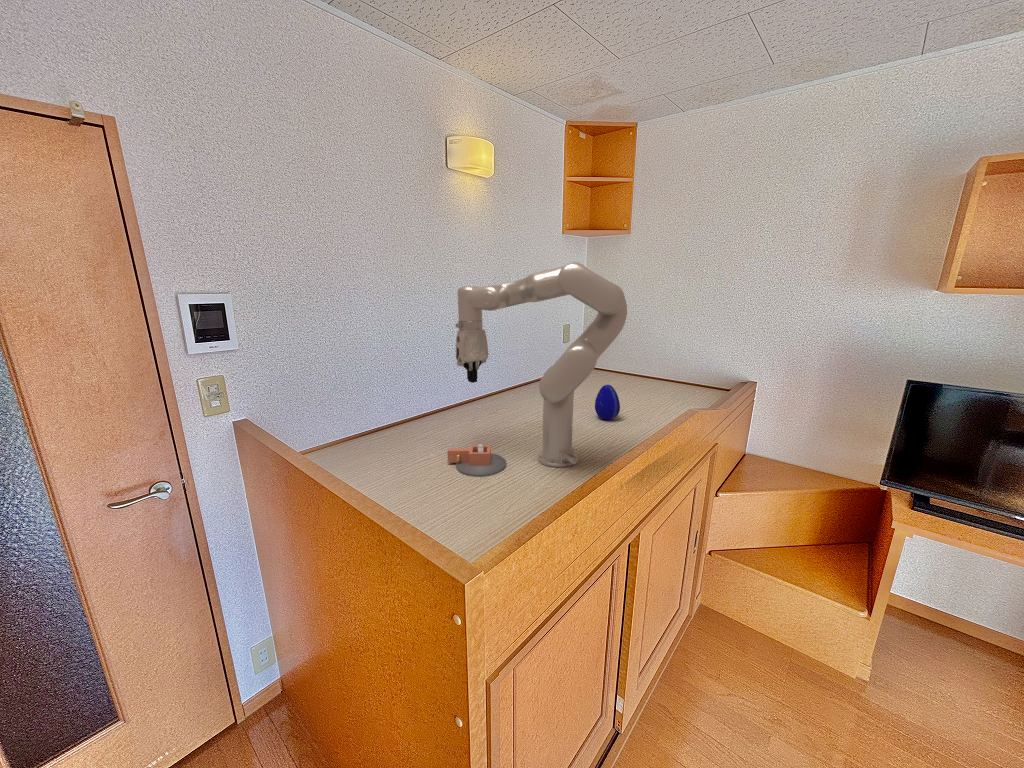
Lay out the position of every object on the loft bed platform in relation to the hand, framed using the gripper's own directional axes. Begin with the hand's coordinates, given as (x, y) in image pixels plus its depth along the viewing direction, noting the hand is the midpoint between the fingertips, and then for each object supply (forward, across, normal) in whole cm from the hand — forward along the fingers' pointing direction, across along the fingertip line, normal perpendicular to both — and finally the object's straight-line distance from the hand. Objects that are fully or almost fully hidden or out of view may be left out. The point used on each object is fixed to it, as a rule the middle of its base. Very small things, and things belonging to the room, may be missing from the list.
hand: (472, 381), depth 136 cm
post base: (+25, -4, -10) cm, 27 cm away
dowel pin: (+25, -10, -6) cm, 28 cm away
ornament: (+25, +63, -5) cm, 68 cm away
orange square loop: (+24, -6, -7) cm, 26 cm away
